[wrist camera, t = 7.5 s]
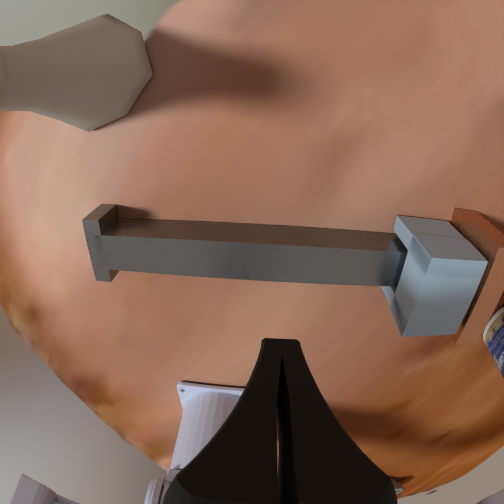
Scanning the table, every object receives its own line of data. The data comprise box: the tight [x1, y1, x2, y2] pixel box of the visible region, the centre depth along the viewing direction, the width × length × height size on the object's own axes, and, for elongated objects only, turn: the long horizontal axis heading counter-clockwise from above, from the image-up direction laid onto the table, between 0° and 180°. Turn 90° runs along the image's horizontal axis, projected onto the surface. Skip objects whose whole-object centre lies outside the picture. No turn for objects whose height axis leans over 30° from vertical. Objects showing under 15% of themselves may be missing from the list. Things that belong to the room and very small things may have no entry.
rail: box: [82, 205, 504, 344], centre depth 17 cm, size 7×26×6 cm, turn 88°
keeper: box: [381, 215, 488, 337], centre depth 17 cm, size 5×4×5 cm
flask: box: [0, 14, 153, 132], centre depth 11 cm, size 7×7×10 cm
